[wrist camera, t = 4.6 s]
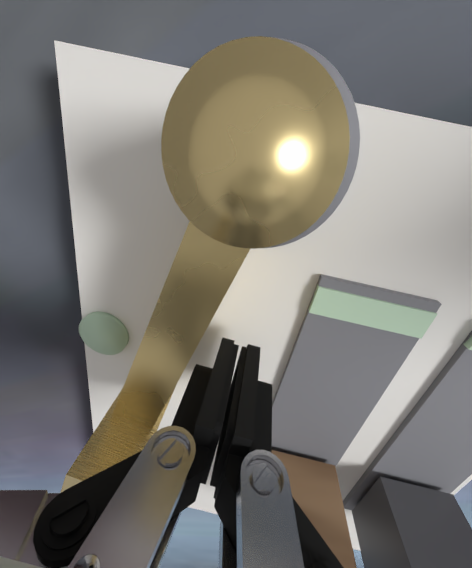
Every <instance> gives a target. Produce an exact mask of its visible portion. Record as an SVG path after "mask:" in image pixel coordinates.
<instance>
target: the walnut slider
mask: <svg viewBox="0 0 472 568" xmlns="http://www.w3.org/2000/svg"><path fill="white" fill-rule="evenodd" d="M271 453H273V454H274V455H276V456H277V457H278V458H279V459H280V460H281V461H282V463H283V465H284V466H285V468H286V470H287V473H288V477H289V481H290V487H291V493H292V497H293V498H294V499H295V501H296V502H297V504H298V505H299V506H300V508H301V509H302V511H303V512H304V513H305V515H306V516H307V517H308V519H309V520H310V522H311V523H312V524H313V526H314V527H315V529H316V530H317V531H318V533H319V534H320V535H321V537H322V538H323V540H324V541H325V542H326V544H327V545H328V547H329V548H330V549H331V551H332V552H333V554H334V555H335V556H336V558H337V559H338V560H339V562H340V563H341V565H342V566H343V567H344V568H356V563H355V558H354V553H353V548H352V544H351V539H350V534H349V529H348V524H347V520H346V515H345V510H344V505H343V500H342V496H341V491H340V486H339V481H338V476H337V472H336V467H335V465H331V464H327V463H323V462H319V461H315V460H311V459H307V458H303V457H299V456H295V455H291V454H286V453H282V452H278V451H274V450H272V452H271Z"/></svg>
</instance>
